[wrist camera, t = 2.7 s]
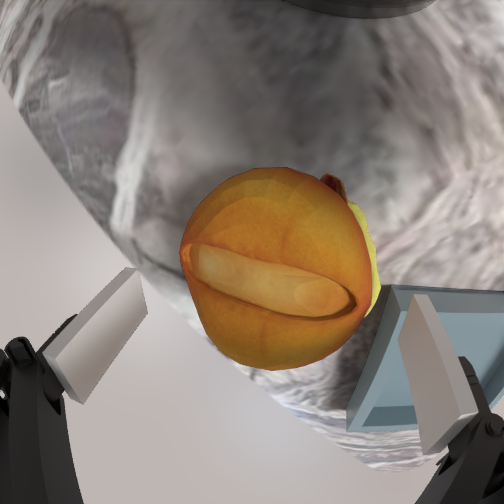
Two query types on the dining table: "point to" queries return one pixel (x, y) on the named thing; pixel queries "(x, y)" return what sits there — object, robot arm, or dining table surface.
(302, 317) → the cheeseburger
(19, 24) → the dining table surface
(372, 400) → the bin
